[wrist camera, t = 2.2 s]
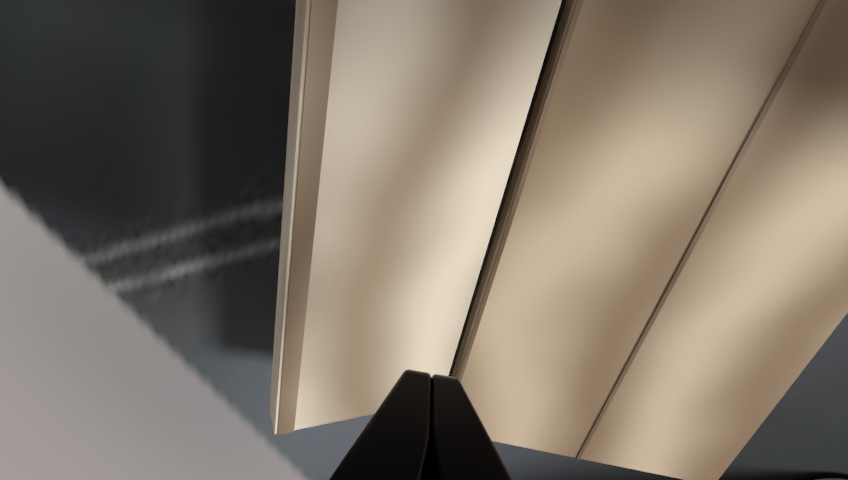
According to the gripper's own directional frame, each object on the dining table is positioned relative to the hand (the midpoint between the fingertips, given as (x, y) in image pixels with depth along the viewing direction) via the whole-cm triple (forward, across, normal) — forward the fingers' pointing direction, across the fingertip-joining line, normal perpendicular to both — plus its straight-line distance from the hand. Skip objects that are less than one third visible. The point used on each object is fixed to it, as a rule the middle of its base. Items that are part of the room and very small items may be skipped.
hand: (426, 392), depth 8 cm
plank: (+9, +2, +2) cm, 10 cm away
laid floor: (+11, -9, +2) cm, 14 cm away
